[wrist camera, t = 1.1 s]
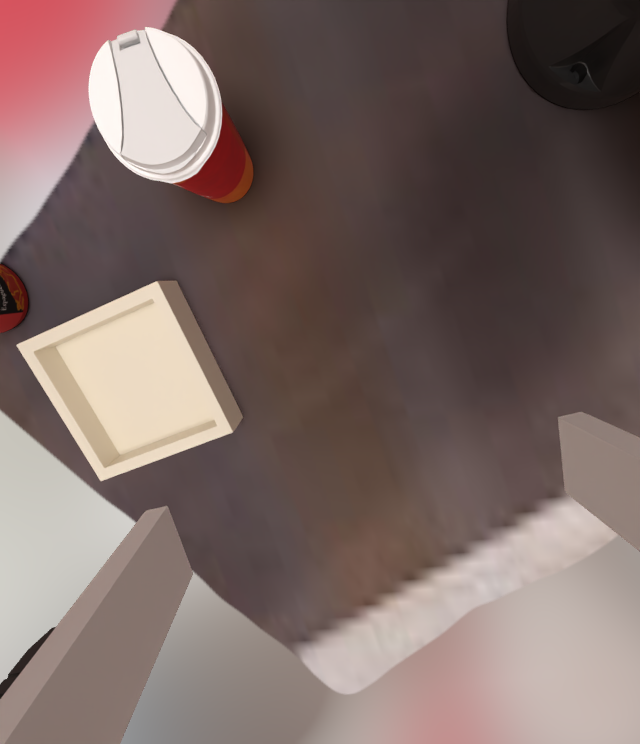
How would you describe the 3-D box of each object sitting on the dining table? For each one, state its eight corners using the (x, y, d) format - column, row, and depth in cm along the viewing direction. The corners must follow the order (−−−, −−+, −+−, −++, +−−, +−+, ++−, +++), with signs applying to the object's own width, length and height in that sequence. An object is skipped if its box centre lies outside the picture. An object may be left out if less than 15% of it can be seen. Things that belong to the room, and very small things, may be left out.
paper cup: (172, 138, 33) (56, 41, 19) (251, 113, 32) (187, -7, 18) (200, 226, 35) (111, 193, 21) (275, 204, 34) (233, 156, 20)
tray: (176, 280, 36) (157, 280, 32) (243, 417, 40) (233, 432, 36) (48, 338, 38) (16, 344, 34) (122, 462, 42) (100, 481, 38)
